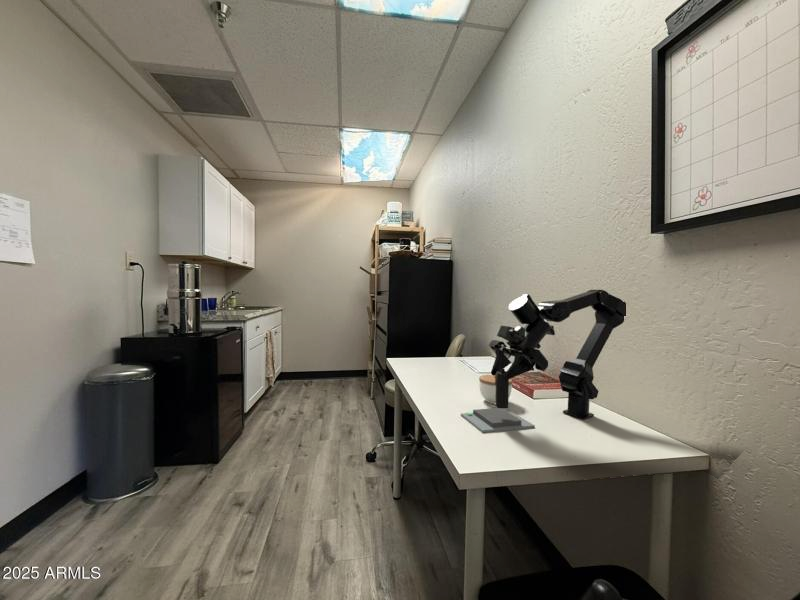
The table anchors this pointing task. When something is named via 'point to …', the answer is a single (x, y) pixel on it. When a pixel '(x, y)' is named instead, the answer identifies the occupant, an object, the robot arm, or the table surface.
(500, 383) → the walkie-talkie
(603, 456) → the table surface
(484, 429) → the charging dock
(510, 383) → the lidded jar
